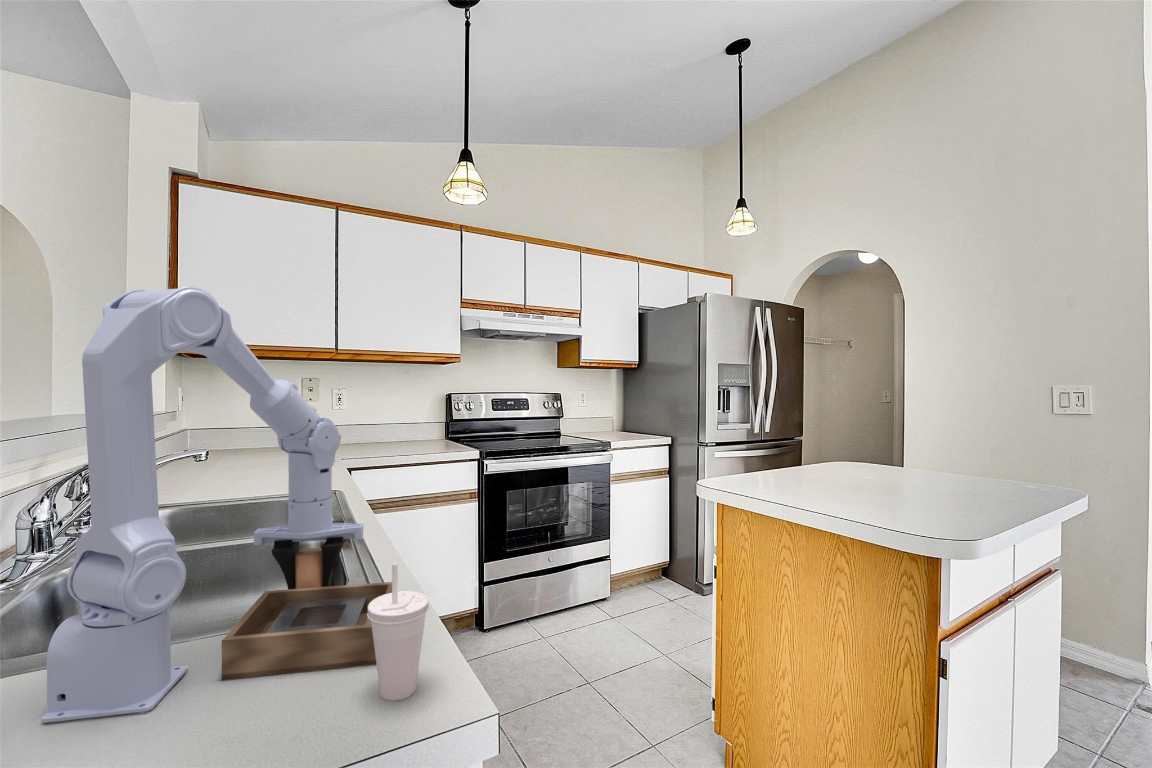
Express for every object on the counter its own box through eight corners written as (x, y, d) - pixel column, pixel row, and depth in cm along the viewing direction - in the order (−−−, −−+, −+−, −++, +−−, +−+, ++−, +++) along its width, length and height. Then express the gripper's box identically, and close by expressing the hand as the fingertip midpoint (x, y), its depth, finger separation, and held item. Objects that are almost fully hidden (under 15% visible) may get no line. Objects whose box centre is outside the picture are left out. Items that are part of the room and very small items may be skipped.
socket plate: (262, 662, 63) (262, 637, 63) (288, 623, 73) (288, 602, 73) (353, 653, 65) (353, 629, 65) (366, 616, 75) (367, 596, 75)
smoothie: (353, 697, 57) (353, 566, 57) (399, 668, 63) (399, 549, 63) (397, 715, 54) (397, 577, 54) (441, 683, 60) (441, 558, 60)
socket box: (221, 680, 60) (221, 640, 60) (265, 623, 74) (265, 591, 74) (381, 663, 64) (381, 626, 64) (394, 612, 77) (395, 581, 77)
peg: (291, 612, 77) (291, 557, 77) (299, 601, 81) (299, 548, 81) (321, 610, 78) (321, 555, 78) (328, 599, 82) (328, 546, 82)
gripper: (366, 490, 85) (366, 575, 85) (265, 494, 82) (265, 582, 82) (358, 500, 78) (358, 593, 78) (248, 505, 75) (248, 601, 75)
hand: (310, 589), depth 80 cm, fingers closed on peg, 4 cm apart
